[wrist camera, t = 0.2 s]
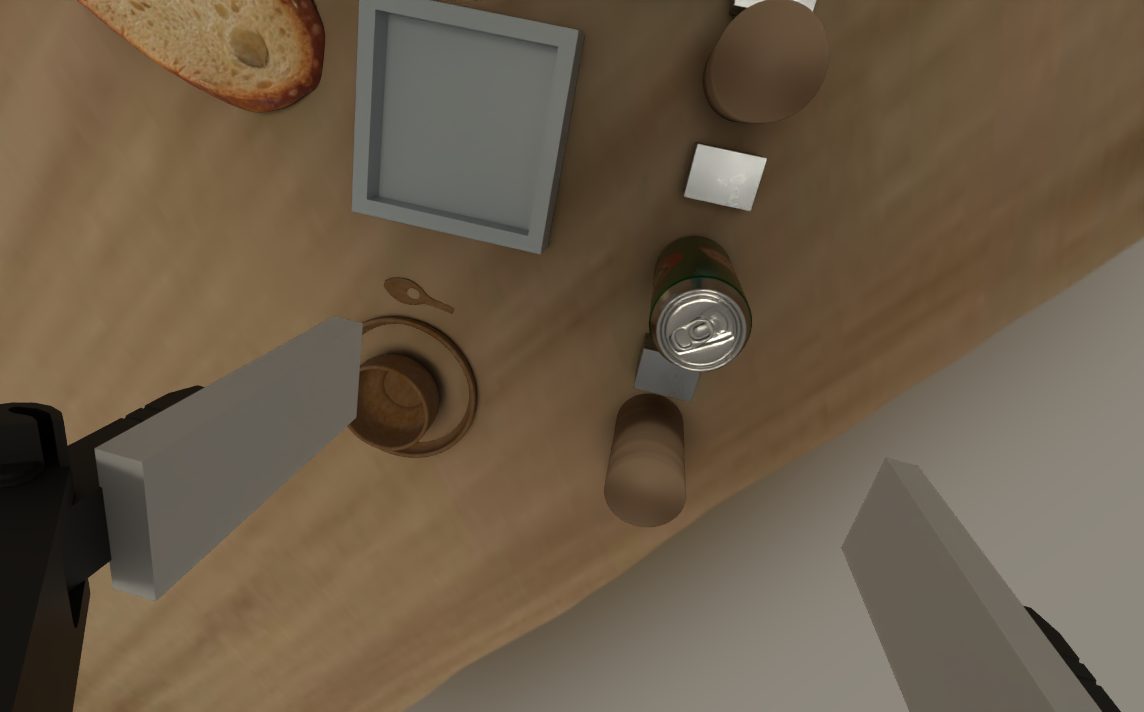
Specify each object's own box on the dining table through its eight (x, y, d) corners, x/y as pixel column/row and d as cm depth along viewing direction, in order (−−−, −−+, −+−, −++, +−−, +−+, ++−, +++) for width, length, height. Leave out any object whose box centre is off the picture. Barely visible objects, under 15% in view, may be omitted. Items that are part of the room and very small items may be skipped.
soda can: (743, 287, 39) (772, 354, 28) (674, 320, 40) (676, 394, 30) (711, 220, 38) (727, 262, 27) (641, 256, 39) (630, 310, 28)
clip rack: (739, -27, 32) (746, -40, 30) (810, -13, 32) (824, -25, 29) (609, 471, 46) (605, 493, 43) (659, 483, 46) (658, 507, 43)
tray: (379, -6, 36) (359, -14, 33) (585, 35, 35) (578, 30, 32) (369, 205, 41) (351, 211, 39) (547, 246, 40) (540, 254, 38)
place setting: (446, 494, 50) (419, 539, 45) (233, 402, 50) (181, 436, 45) (512, 320, 43) (489, 348, 38) (265, 212, 43) (207, 225, 38)
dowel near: (717, 20, 33) (731, -12, 25) (803, 37, 33) (847, 10, 25) (693, 113, 35) (699, 110, 27) (774, 130, 35) (806, 132, 27)
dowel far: (624, 386, 43) (613, 450, 35) (690, 402, 43) (695, 470, 34) (610, 443, 45) (596, 515, 37) (673, 459, 45) (674, 535, 36)
